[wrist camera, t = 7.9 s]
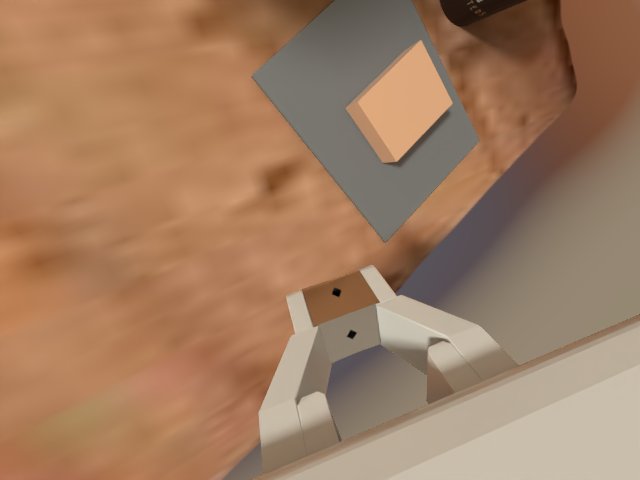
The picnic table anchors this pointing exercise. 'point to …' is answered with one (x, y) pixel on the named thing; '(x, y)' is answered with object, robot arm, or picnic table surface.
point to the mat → (344, 86)
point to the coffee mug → (473, 9)
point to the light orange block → (400, 104)
